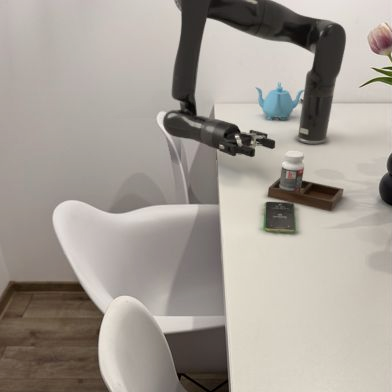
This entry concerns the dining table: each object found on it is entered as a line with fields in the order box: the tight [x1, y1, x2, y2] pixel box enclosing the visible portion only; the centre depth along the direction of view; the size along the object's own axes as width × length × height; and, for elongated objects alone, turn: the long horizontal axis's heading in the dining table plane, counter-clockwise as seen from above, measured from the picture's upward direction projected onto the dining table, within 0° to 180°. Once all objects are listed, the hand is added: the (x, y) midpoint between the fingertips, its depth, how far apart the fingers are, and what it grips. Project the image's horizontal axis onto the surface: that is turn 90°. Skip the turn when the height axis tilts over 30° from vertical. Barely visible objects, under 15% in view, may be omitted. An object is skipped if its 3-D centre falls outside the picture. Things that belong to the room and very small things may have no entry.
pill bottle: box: [279, 150, 305, 193], centre depth 126 cm, size 6×6×10 cm
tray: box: [267, 176, 345, 212], centre depth 127 cm, size 9×17×2 cm, turn 60°
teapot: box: [254, 81, 304, 121], centre depth 178 cm, size 13×13×10 cm
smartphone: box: [263, 201, 297, 234], centre depth 118 cm, size 8×1×15 cm
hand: (264, 149), depth 129 cm, fingers open, 8 cm apart
